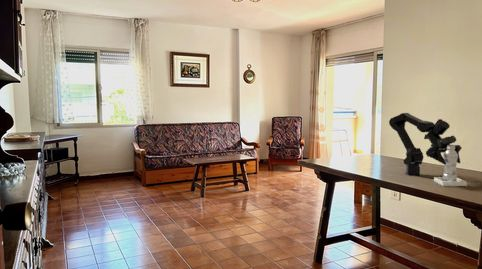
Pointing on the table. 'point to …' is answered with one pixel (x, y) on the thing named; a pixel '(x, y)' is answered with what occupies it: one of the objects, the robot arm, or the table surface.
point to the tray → (446, 183)
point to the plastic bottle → (450, 164)
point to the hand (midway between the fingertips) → (452, 163)
